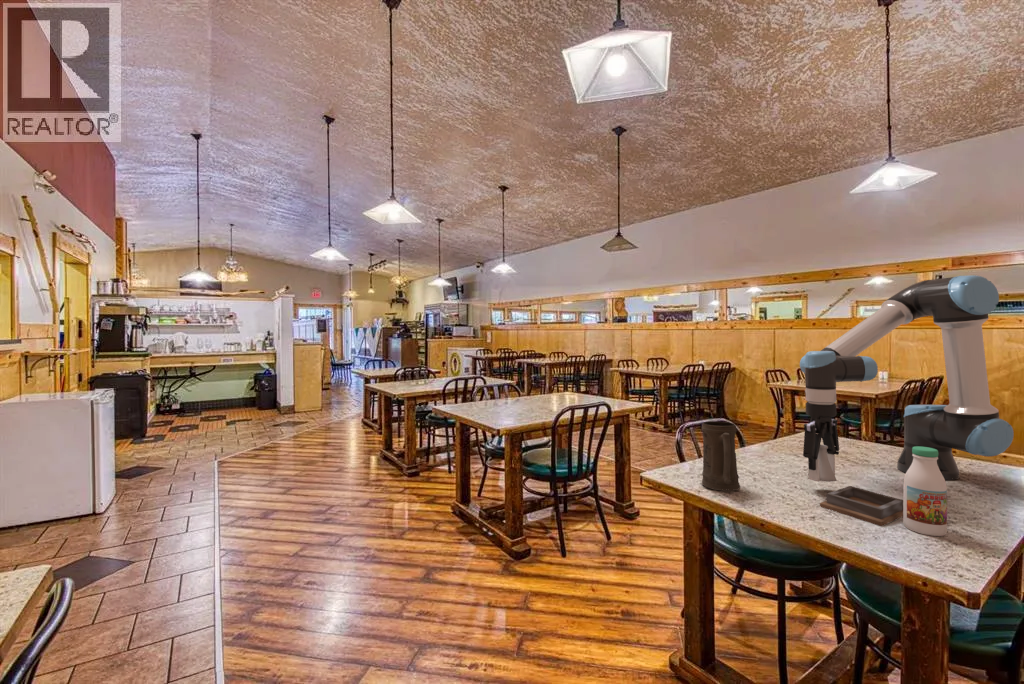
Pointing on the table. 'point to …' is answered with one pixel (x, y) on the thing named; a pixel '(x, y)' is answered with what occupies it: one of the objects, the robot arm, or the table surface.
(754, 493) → the table surface
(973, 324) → the robot arm
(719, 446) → the beer stein
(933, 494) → the milk bottle
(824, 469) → the flask
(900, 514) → the rectangular tray
